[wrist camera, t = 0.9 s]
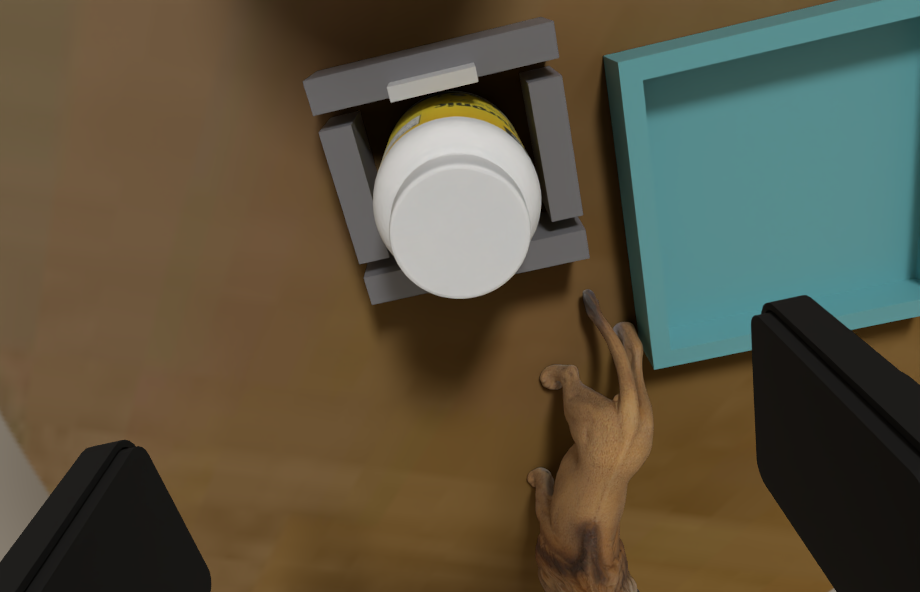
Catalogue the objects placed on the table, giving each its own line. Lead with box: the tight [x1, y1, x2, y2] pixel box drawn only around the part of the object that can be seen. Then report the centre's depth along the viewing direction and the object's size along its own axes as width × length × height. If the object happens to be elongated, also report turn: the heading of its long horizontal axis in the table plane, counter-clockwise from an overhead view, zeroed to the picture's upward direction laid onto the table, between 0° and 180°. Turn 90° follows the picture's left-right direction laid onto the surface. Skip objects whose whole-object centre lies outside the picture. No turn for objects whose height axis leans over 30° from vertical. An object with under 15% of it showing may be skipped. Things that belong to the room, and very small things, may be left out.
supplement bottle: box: [373, 91, 541, 299], centre depth 23 cm, size 5×5×10 cm
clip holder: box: [303, 17, 590, 305], centre depth 26 cm, size 9×9×4 cm
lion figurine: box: [527, 289, 654, 592], centre depth 29 cm, size 15×5×9 cm, turn 3°
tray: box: [603, 0, 920, 370], centre depth 27 cm, size 13×13×2 cm
